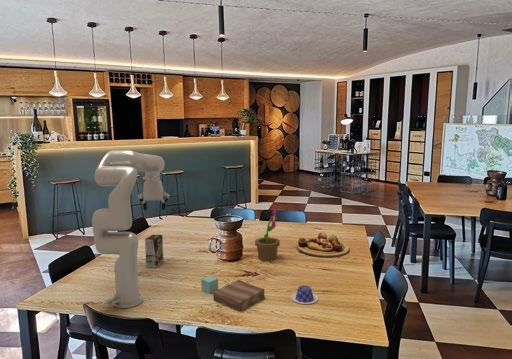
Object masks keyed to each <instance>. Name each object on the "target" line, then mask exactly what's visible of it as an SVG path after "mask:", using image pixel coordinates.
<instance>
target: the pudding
mask: <svg viewBox="0 0 512 359" xmlns="http://www.w3.org/2000/svg"><path fill="white" fill-rule="evenodd" d="M290 299H291V300H292V301H294V302H295V303H298V304H302V305H303V304H304V305H311V304H314V303H316V302H318V301H319V296H318V295H317V294H316V293H313V290H312V288H311V287H310V286H307V285H300V286H298V288H297V291H296V292H294V293H292V294H291V295H290Z"/></svg>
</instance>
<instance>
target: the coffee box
mask: <svg viewBox="0 0 512 359" xmlns="http://www.w3.org/2000/svg"><path fill="white" fill-rule="evenodd" d="M163 240H164V239H163V234H151V235H149V236H148V237H146V238H145V239H144V244H145V246H144V248H145V249H144V250H145V266H146V268H154V269H157V268H158V267H159V266H161V265H162V264H164V262H165V261H164V244H163V243H164V242H163Z"/></svg>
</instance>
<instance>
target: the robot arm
mask: <svg viewBox="0 0 512 359" xmlns="http://www.w3.org/2000/svg"><path fill="white" fill-rule="evenodd" d="M165 166H166V165H165V160H164V159H163V157H162V156H160V155H155V154H147V153H141V152H137V151H134V150H131V149H130V150H129V149H113V150H109V151H107V152H106V153H105V154H104V156H103V157H102V158H101V160H100V162H99V164H98V165H97V166H96V170H95V172H94V181H95V184H97V185H98V186H101V187H114V188H113V189H112V191H111V192H110V194H109V195H108V199H107V200H108V201H107V203H108V207H107V208H105V207H104V208H99V209H96V210H95V211H94V212H93V214H92V218H91V226H92V233H93V239H94V240H93V241H94V246H95V250H96V252H97V253H98V254H101V255H118V256H119V257H117V259H115V263H114V266H113V267H114V268H113V269H114V280H115V293H114V294H113V296H112V297H111V298H107V299H106V300H105V304H106V305H110V304H111V305H113V306H114V307H115V308H118V309H129V308H133V307H136V306H139V305H140V304H142V303H143V301H144V295H142V294H141V293H140V285H139V284H140V283H139V271H138V270H139V268H138V249H139V237H138V236H137V234H136V233H134V232H132V231H127V230H129V229H131V228H132V225H133V216H132V208H131V194H132V192H133V190H134V187H135V184H136V181H137V179H138V172H144V173H145V174H144V175H145V176H143V177H142V180H144V183H143V191H142V193H138V195H137V198H138V200H139V201H140V203H142V208H143V210H144V212H146V211H147V210H148V205H147V204H148V203H147V201H161V202H162V203H161V210H162V211H165V209H166V207H167V206H166V202H168V200H169V199H170V196H171V194H169V193H167V192H166V191H164V187H163V182H162V180H161V172H162V171H163V170H164V169H165ZM164 196H166V198H164Z"/></svg>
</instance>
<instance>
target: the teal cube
mask: <svg viewBox="0 0 512 359" xmlns="http://www.w3.org/2000/svg"><path fill="white" fill-rule="evenodd" d="M200 283H201V284H200V285H201V291H203V292H204V293H208V294H212V293H213V292H214V291H216V290H218V289H219V278H218V277H215V276H212V275H208V276H206V277H204V278H201V279H200Z"/></svg>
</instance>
